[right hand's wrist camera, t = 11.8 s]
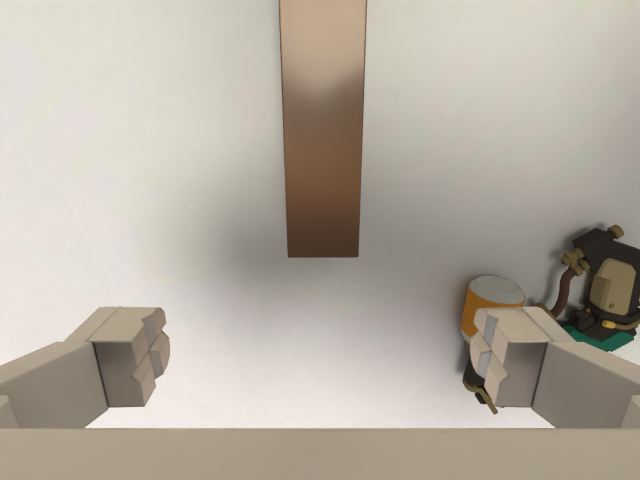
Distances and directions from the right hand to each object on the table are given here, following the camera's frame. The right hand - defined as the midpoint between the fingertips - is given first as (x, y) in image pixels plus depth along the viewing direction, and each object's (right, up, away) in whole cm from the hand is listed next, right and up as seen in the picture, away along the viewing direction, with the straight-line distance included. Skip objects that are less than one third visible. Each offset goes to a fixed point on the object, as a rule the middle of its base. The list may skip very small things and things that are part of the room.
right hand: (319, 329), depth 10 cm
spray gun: (+20, -4, +25) cm, 32 cm away
